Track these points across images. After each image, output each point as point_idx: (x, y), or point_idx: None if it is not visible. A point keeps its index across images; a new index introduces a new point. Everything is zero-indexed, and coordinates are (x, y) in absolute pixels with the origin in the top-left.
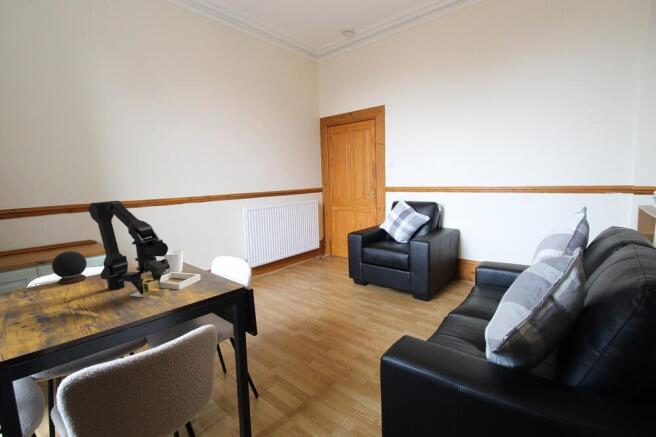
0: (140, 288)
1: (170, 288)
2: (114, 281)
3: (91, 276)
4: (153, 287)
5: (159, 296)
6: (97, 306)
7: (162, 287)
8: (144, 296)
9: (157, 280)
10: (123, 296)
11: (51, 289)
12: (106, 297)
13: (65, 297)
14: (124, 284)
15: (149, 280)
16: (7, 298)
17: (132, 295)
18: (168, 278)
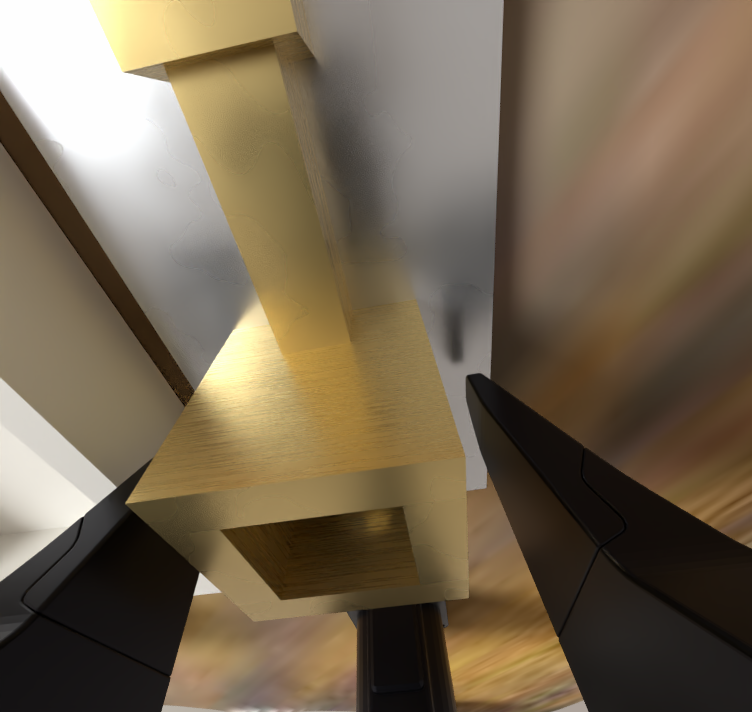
0: (566, 438)
1: (44, 262)
2: (434, 690)
3: (345, 709)
4: (315, 374)
5: (374, 26)
6: (682, 493)
7: (150, 404)
8: (469, 325)
9: (150, 487)
10: (471, 512)
11: (490, 695)
12: (515, 563)
13: (551, 647)
14: (370, 631)
15: (279, 579)
16: (582, 699)
17: (481, 461)
18: (21, 549)
